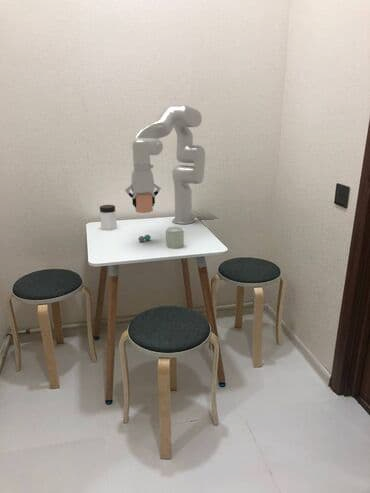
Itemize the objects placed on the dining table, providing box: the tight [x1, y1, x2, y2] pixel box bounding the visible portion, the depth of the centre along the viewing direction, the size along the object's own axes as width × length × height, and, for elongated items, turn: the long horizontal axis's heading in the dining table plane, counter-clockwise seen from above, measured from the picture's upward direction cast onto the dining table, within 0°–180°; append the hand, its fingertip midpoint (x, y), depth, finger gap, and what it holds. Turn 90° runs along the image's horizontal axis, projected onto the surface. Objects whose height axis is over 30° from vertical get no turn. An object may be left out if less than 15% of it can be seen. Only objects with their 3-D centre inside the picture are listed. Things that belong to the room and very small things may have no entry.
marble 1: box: [137, 235, 146, 243], centre depth 189 cm, size 3×3×3 cm
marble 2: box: [143, 234, 151, 242], centre depth 191 cm, size 3×3×3 cm
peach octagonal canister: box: [134, 193, 154, 214], centre depth 183 cm, size 8×8×8 cm
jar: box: [99, 204, 118, 231], centre depth 212 cm, size 9×8×12 cm
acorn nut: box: [165, 226, 185, 249], centre depth 182 cm, size 8×8×8 cm
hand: (143, 205), depth 184 cm, fingers closed on peach octagonal canister, 7 cm apart
